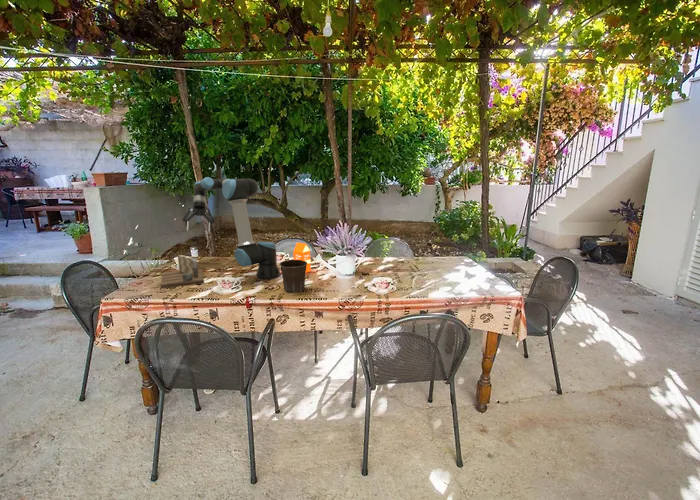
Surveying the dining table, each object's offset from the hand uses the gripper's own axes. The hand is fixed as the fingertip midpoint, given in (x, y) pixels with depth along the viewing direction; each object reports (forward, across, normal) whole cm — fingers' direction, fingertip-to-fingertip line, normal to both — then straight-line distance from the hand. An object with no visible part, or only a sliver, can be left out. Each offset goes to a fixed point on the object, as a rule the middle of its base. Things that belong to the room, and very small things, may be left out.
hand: (198, 231), depth 250 cm
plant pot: (+50, -55, +42) cm, 85 cm away
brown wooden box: (+33, +8, -1) cm, 34 cm away
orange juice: (+31, -68, +13) cm, 76 cm away
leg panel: (+28, +5, -3) cm, 29 cm away
